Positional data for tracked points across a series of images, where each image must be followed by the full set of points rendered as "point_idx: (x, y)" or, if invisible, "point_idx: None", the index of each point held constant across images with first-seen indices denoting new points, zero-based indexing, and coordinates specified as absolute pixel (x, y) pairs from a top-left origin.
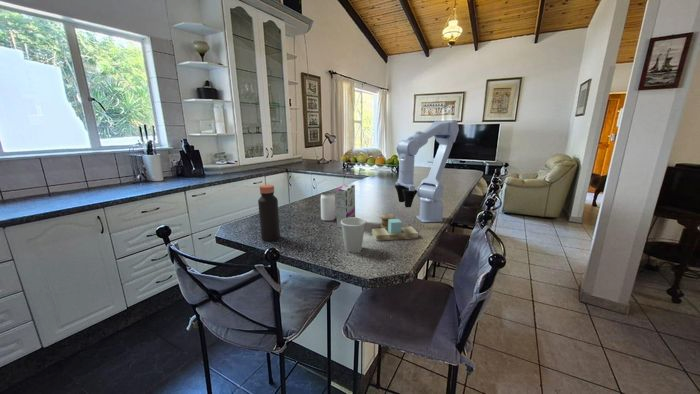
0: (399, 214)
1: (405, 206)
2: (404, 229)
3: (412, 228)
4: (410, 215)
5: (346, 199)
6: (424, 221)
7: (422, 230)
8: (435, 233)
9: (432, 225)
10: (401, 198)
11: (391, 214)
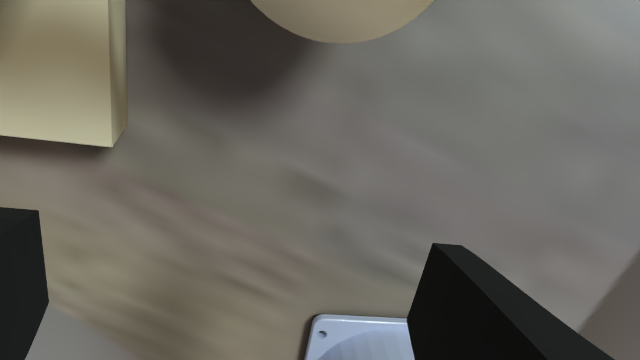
0: (607, 230)
1: (6, 213)
2: (8, 15)
3: (39, 128)
4: None
5: None
6: (315, 332)
7: (132, 233)
8: None
9: (235, 349)
10: (453, 335)
11: (384, 9)
